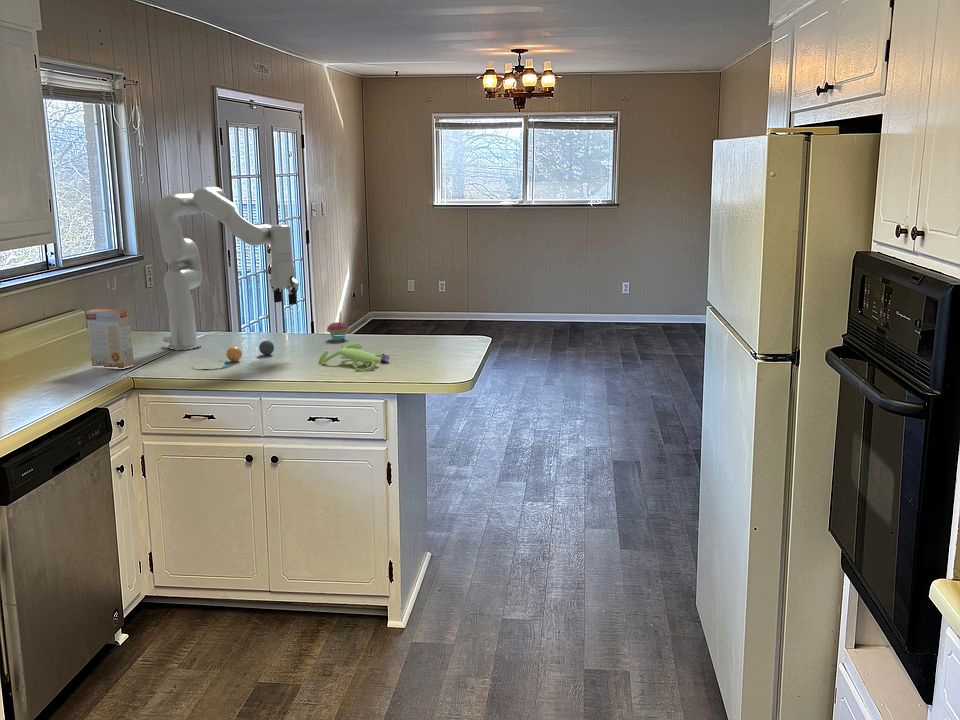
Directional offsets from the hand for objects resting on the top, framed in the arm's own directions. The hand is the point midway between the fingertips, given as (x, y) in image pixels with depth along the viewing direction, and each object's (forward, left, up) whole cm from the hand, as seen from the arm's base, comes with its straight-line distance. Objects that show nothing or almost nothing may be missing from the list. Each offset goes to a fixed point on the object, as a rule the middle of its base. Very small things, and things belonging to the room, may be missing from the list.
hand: (285, 303), depth 336 cm
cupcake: (+11, +24, -19) cm, 32 cm away
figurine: (+33, -16, -19) cm, 41 cm away
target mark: (-16, -28, -19) cm, 37 cm away
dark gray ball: (-5, -8, -16) cm, 19 cm away
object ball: (-12, -20, -16) cm, 28 cm away
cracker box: (-51, -36, -19) cm, 65 cm away
